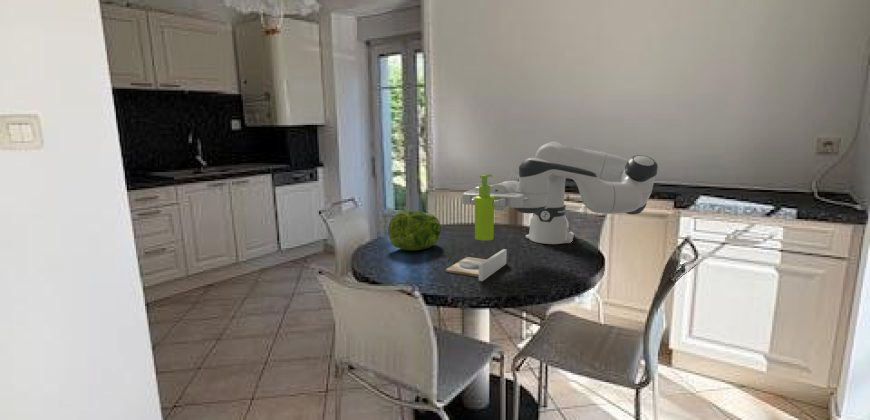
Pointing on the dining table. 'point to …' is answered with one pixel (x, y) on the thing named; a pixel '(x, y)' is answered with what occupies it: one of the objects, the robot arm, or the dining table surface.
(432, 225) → the lettuce
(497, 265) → the low wall
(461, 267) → the oak board
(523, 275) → the dining table surface
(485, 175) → the soap dispenser
